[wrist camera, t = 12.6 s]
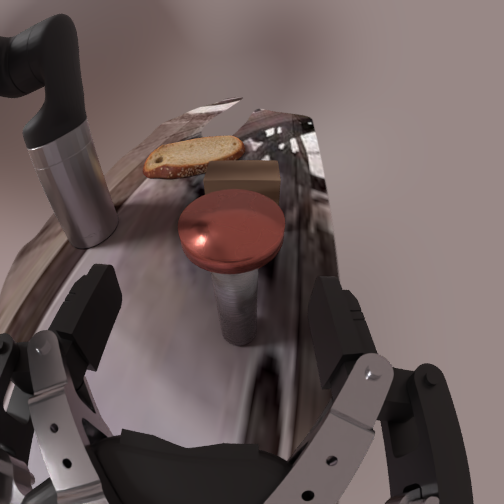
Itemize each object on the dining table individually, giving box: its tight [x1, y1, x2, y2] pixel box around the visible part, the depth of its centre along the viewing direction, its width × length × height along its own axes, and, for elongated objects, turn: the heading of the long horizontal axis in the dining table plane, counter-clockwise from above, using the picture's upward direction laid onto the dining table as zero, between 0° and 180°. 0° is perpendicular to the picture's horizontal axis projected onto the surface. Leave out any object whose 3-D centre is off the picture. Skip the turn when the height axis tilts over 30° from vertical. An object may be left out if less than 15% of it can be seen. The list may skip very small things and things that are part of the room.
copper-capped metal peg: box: [178, 189, 285, 345], centre depth 24 cm, size 14×6×14 cm, turn 0°
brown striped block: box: [204, 160, 281, 206], centre depth 36 cm, size 5×9×8 cm, turn 89°
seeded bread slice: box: [143, 136, 245, 179], centre depth 51 cm, size 18×18×4 cm
